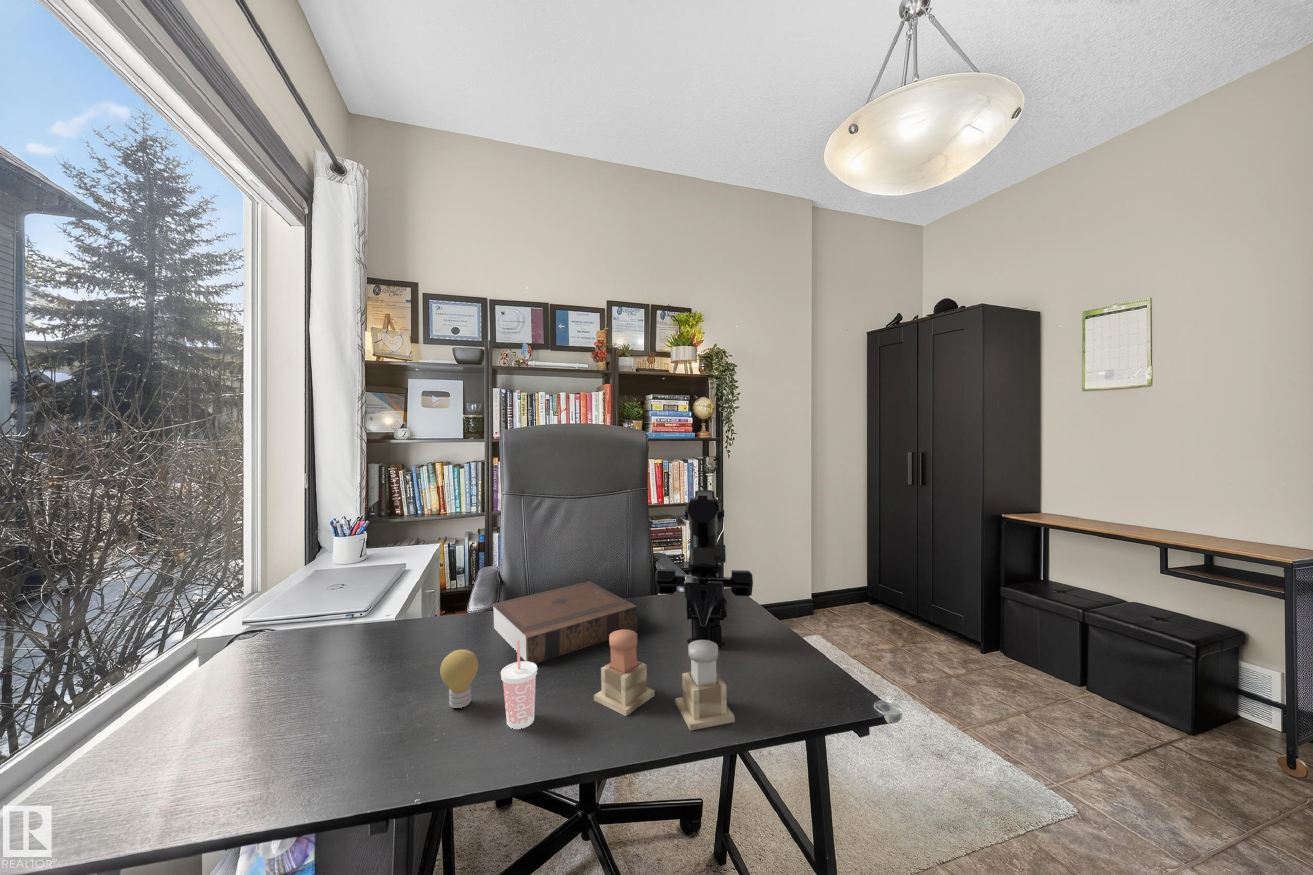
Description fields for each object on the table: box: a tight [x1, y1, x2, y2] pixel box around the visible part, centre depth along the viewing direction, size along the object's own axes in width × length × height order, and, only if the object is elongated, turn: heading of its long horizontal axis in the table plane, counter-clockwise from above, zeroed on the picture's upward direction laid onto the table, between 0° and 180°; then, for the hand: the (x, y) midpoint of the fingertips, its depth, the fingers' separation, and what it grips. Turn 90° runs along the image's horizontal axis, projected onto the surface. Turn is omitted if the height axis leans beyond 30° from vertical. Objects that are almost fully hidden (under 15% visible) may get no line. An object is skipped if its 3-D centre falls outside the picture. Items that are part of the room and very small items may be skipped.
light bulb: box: [439, 649, 479, 709], centre depth 88 cm, size 6×6×10 cm
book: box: [491, 580, 638, 665], centre depth 121 cm, size 24×28×6 cm
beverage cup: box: [500, 641, 538, 730], centre depth 83 cm, size 6×6×14 cm
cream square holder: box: [593, 660, 656, 717], centre depth 90 cm, size 8×8×6 cm
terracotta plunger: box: [608, 630, 638, 674], centre depth 90 cm, size 5×5×6 cm
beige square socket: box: [675, 671, 736, 731], centre depth 85 cm, size 8×8×6 cm
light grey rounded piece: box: [687, 640, 719, 687], centre depth 85 cm, size 5×5×6 cm
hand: (703, 625), depth 89 cm, fingers closed
